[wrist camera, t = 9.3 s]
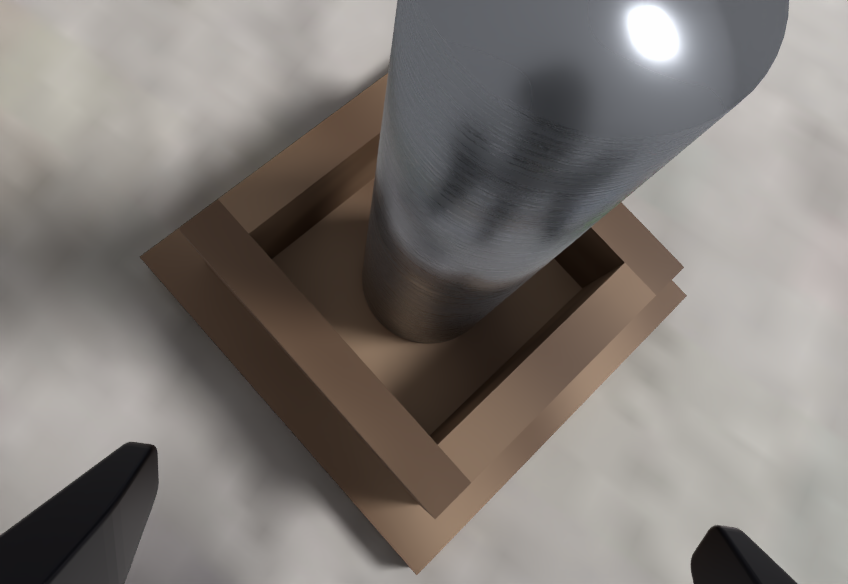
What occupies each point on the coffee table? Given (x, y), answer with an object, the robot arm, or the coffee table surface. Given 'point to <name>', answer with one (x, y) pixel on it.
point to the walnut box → (392, 355)
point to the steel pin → (535, 135)
